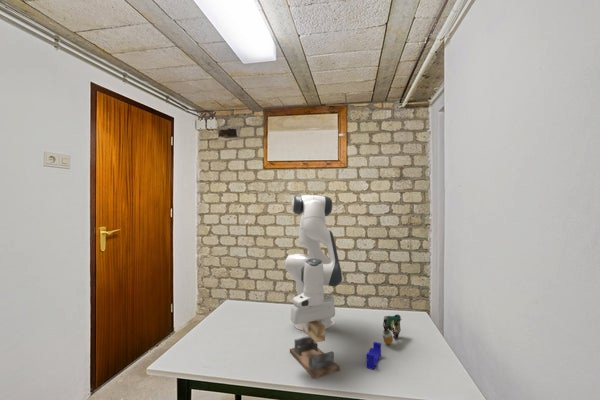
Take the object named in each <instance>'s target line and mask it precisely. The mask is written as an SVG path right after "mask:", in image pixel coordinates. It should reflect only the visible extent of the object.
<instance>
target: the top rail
mask: <svg viewBox="0 0 600 400" xmlns="http://www.w3.org/2000/svg"><path fill="white" fill-rule="evenodd" d="M307 326H308V327H310V332H306V331H305V326H304V324H303V331H302V332H303V333H305V334H306V335H307V336H309V337H311V338H312V339H313V340H314V341H315V342H316V343H320V342H324V341H326V329H325V325H323V324H322V323H320V322H319V321H317V320H316V321H311V322H308V325H307Z"/></svg>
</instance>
